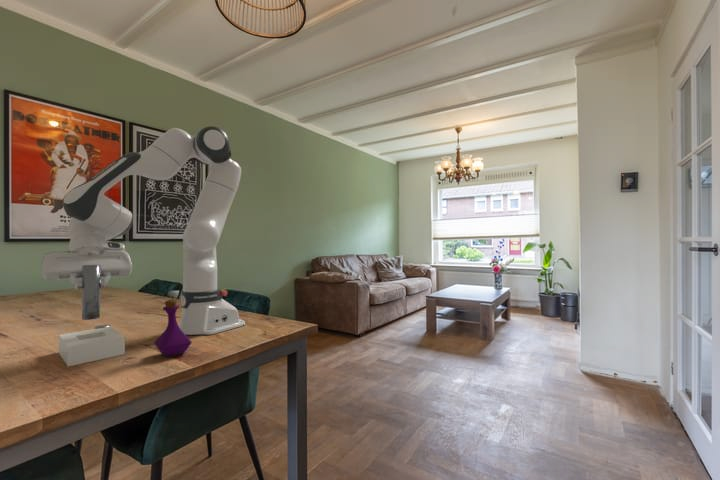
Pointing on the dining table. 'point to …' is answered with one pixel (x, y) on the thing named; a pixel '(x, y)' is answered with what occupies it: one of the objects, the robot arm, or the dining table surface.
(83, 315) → the tall pin
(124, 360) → the dining table surface
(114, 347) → the guide block
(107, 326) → the short pin
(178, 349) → the perfume bottle
